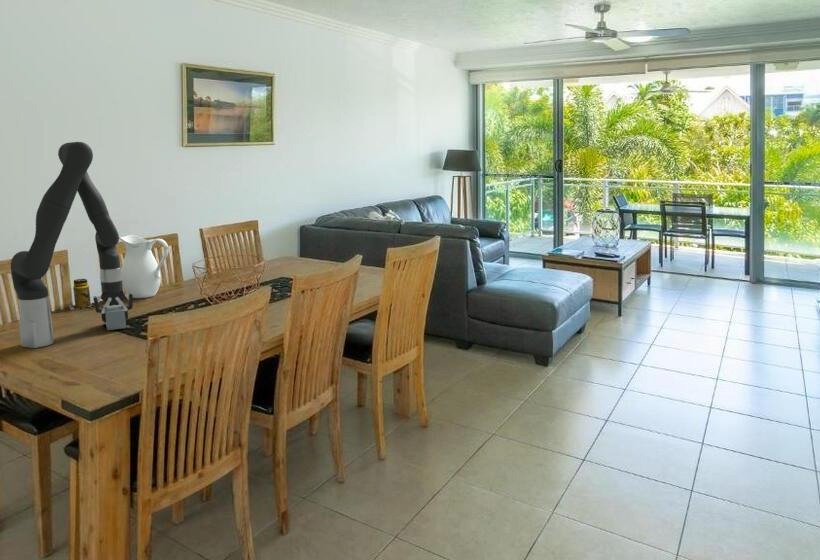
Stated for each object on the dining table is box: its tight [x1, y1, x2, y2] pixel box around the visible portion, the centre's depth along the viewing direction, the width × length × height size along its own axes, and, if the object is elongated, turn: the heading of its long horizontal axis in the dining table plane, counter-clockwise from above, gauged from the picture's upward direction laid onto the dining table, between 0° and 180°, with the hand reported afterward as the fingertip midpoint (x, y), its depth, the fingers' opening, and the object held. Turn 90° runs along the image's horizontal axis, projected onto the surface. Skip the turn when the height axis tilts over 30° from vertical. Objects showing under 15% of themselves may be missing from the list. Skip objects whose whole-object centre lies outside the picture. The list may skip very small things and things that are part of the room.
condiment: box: [68, 278, 93, 311], centre depth 269 cm, size 7×8×12 cm
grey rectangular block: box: [105, 304, 127, 331], centre depth 242 cm, size 11×7×7 cm, turn 29°
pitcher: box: [119, 234, 170, 299], centre depth 287 cm, size 24×17×28 cm
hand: (115, 320), depth 242 cm, fingers closed on grey rectangular block, 6 cm apart
